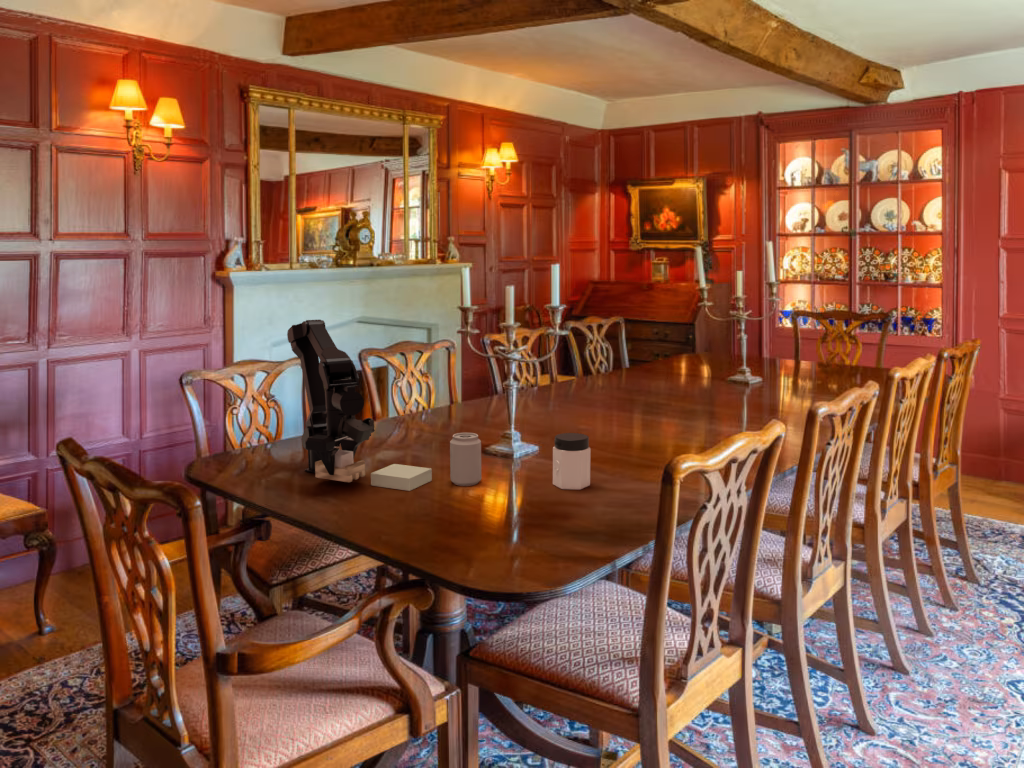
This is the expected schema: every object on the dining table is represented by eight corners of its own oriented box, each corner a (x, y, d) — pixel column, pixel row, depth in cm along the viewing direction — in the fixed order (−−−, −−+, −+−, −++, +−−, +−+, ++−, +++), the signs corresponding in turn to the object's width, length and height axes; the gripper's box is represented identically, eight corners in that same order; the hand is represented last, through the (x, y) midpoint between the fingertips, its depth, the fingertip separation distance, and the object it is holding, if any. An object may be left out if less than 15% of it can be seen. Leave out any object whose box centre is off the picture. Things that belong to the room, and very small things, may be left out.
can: (481, 478, 211) (480, 431, 209) (481, 486, 204) (480, 437, 202) (451, 478, 211) (450, 431, 209) (450, 487, 203) (449, 438, 201)
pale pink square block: (326, 465, 205) (325, 453, 204) (338, 461, 209) (337, 449, 208) (341, 467, 203) (341, 455, 202) (353, 463, 207) (353, 451, 206)
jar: (547, 482, 207) (547, 434, 205) (577, 478, 210) (577, 431, 208) (565, 492, 199) (565, 442, 197) (595, 487, 202) (595, 438, 200)
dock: (371, 485, 205) (370, 473, 204) (394, 475, 214) (394, 463, 213) (409, 490, 200) (409, 478, 200) (431, 480, 209) (431, 468, 209)
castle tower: (315, 477, 205) (314, 462, 205) (332, 471, 211) (331, 456, 210) (349, 482, 201) (348, 466, 200) (365, 475, 207) (364, 460, 206)
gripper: (341, 418, 192) (343, 485, 194) (388, 404, 208) (389, 466, 211) (302, 414, 196) (304, 479, 199) (351, 400, 213) (353, 461, 216)
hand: (340, 471), depth 206 cm, fingers closed on castle tower, 6 cm apart
